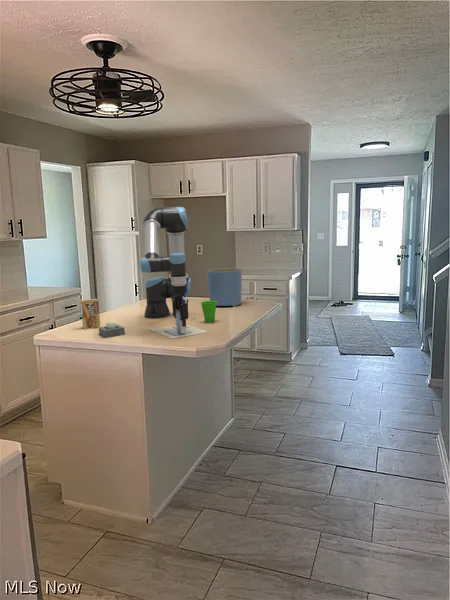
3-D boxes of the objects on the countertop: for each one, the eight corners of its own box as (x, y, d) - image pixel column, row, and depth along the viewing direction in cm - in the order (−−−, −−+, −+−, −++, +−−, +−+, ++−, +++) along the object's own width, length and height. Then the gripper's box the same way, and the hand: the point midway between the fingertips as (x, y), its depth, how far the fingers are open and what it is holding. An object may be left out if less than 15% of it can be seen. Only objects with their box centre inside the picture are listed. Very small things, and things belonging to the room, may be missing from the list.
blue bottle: (175, 333, 226) (174, 309, 224) (183, 331, 229) (181, 308, 227) (179, 334, 223) (178, 310, 221) (187, 333, 225) (186, 309, 223)
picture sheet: (149, 329, 238) (149, 329, 238) (183, 324, 249) (183, 323, 249) (172, 338, 217) (172, 338, 217) (208, 332, 227) (208, 331, 227)
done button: (105, 331, 232) (105, 323, 231) (114, 330, 235) (113, 322, 234) (108, 332, 228) (108, 325, 228) (117, 331, 231) (117, 323, 230)
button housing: (99, 334, 233) (98, 327, 233) (118, 331, 238) (117, 324, 238) (105, 337, 225) (104, 330, 224) (125, 334, 230) (124, 327, 230)
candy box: (99, 325, 254) (96, 298, 251) (100, 327, 250) (98, 299, 248) (82, 328, 250) (80, 300, 248) (84, 329, 246) (81, 301, 244)
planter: (205, 308, 296) (203, 272, 292) (212, 302, 318) (210, 268, 314) (240, 307, 292) (239, 271, 288) (244, 301, 314) (243, 267, 310)
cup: (215, 323, 248) (215, 303, 246) (199, 323, 250) (198, 303, 248) (219, 319, 257) (218, 300, 255) (203, 319, 258) (202, 300, 257)
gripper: (164, 284, 227) (166, 330, 231) (180, 287, 213) (182, 336, 217) (177, 282, 231) (180, 328, 235) (194, 285, 217) (196, 333, 221)
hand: (181, 331), depth 226 cm, fingers closed on blue bottle, 4 cm apart
